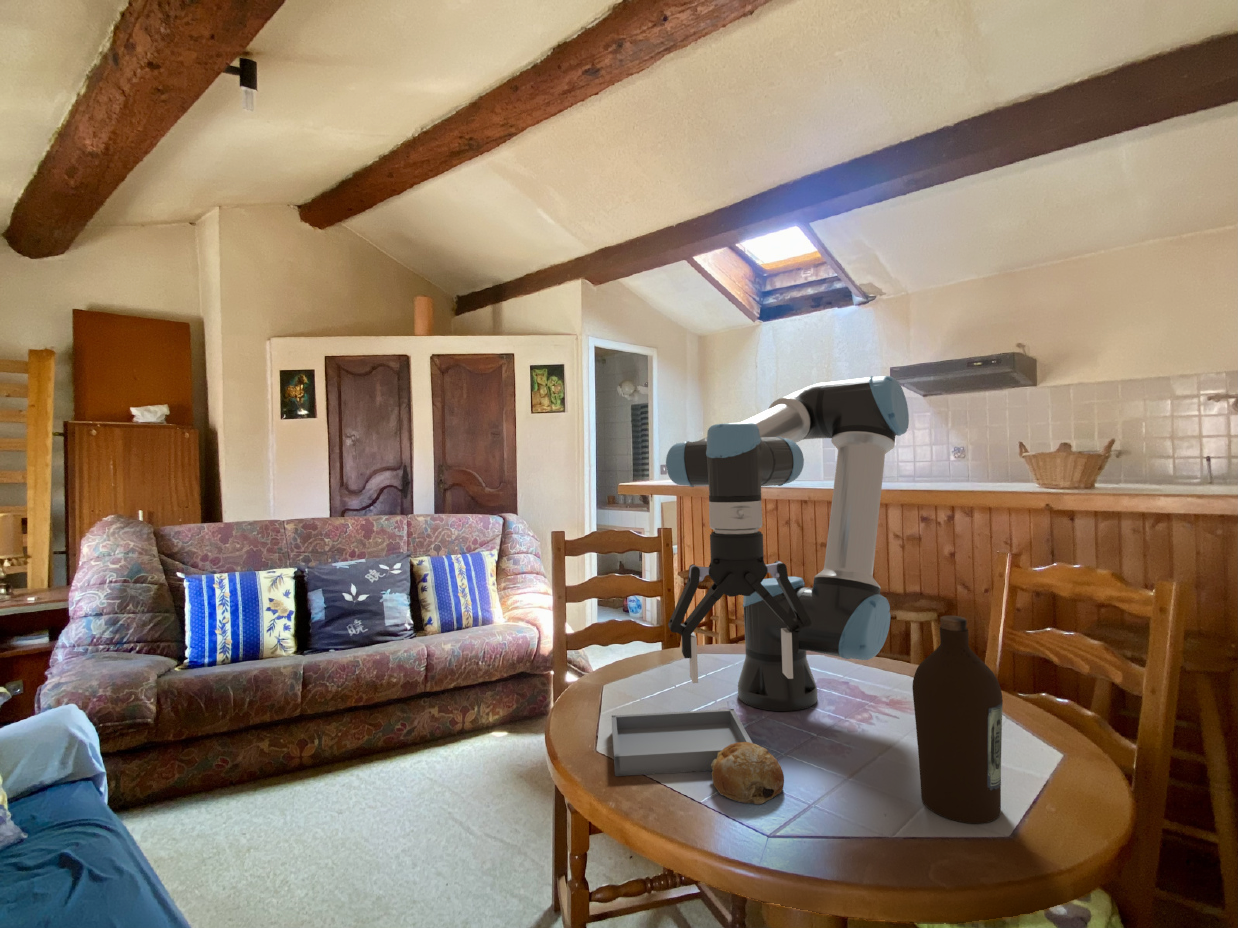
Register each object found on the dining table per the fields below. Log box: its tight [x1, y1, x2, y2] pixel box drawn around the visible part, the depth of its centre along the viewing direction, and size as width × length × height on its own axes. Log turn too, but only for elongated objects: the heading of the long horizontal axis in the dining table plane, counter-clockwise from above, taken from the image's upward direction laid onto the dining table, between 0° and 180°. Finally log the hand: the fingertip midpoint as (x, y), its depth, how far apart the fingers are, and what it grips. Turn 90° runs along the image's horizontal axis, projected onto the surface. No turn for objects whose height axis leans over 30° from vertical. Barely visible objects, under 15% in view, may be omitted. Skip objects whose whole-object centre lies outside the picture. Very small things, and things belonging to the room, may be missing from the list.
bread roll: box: [711, 742, 785, 806], centre depth 93 cm, size 10×10×8 cm
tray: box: [611, 708, 753, 777], centre depth 106 cm, size 22×16×3 cm
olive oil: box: [911, 615, 1004, 824], centre depth 86 cm, size 11×11×25 cm
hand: (741, 678), depth 93 cm, fingers open, 13 cm apart
